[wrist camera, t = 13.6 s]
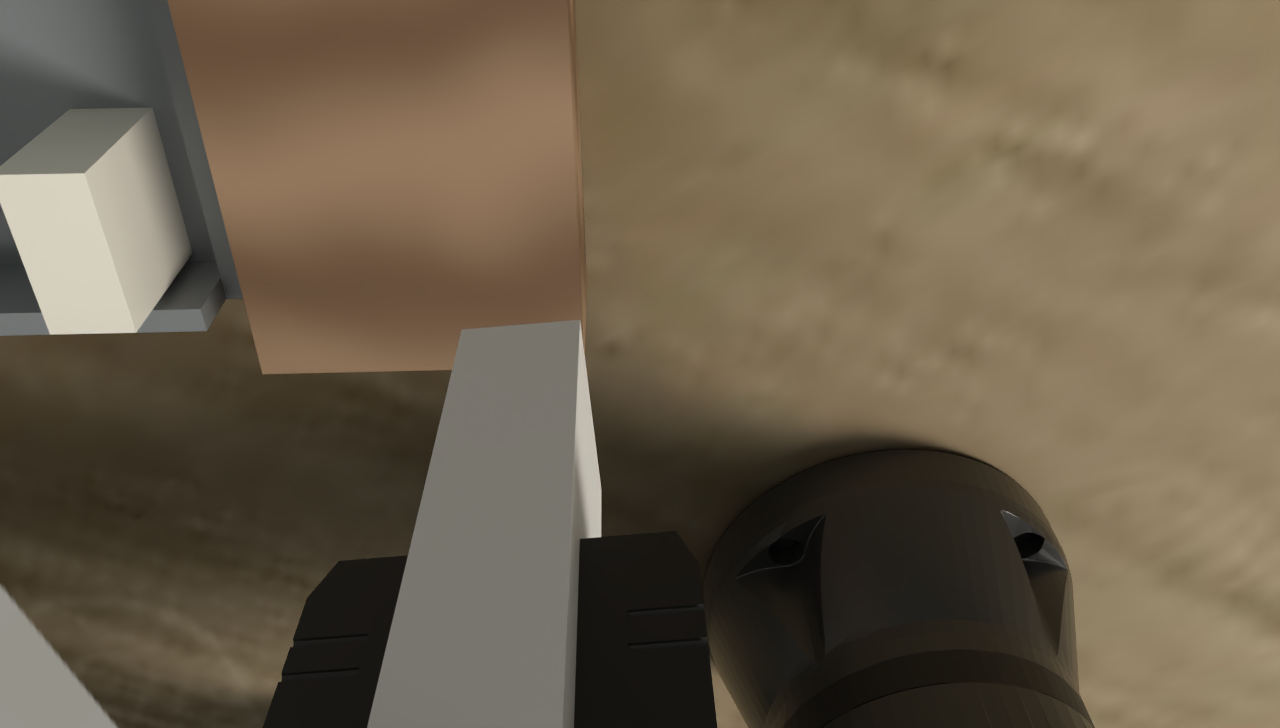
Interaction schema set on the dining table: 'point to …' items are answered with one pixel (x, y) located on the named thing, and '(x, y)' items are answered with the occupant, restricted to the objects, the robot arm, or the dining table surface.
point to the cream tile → (96, 219)
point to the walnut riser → (391, 171)
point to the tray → (111, 78)
